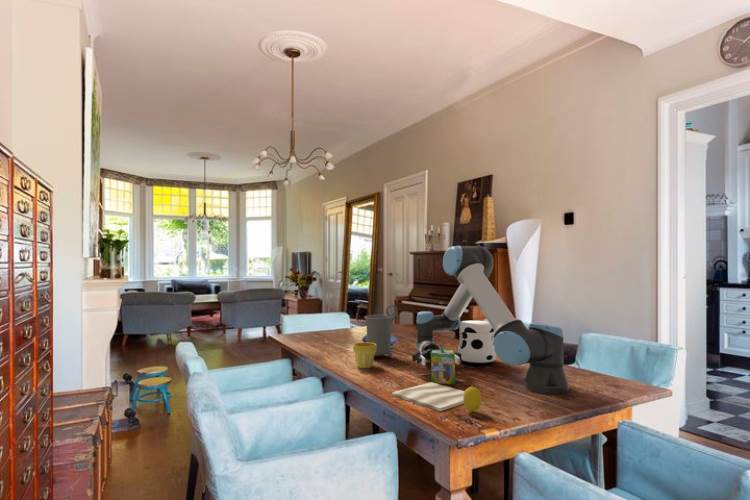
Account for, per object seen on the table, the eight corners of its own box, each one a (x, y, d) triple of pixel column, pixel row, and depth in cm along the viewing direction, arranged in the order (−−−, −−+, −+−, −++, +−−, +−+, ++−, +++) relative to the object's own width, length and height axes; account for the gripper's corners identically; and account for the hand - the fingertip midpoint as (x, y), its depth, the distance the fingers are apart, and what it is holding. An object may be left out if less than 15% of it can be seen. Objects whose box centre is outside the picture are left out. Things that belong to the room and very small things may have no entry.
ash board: (479, 398, 155) (479, 395, 155) (440, 411, 142) (440, 408, 142) (431, 384, 172) (431, 382, 172) (392, 395, 159) (392, 392, 159)
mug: (369, 361, 210) (368, 307, 210) (356, 355, 223) (356, 304, 224) (405, 358, 218) (404, 305, 218) (390, 352, 231) (390, 302, 232)
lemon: (473, 416, 137) (473, 389, 138) (459, 411, 142) (459, 385, 142) (485, 412, 141) (485, 386, 141) (471, 408, 145) (471, 382, 145)
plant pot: (377, 363, 206) (377, 342, 206) (375, 369, 196) (375, 346, 196) (354, 363, 207) (354, 341, 207) (351, 369, 197) (351, 346, 197)
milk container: (504, 362, 208) (503, 322, 208) (481, 369, 196) (481, 326, 196) (472, 356, 220) (472, 319, 221) (449, 362, 209) (449, 322, 209)
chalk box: (455, 385, 171) (455, 345, 171) (430, 384, 172) (430, 345, 173) (455, 378, 180) (454, 341, 180) (431, 378, 182) (431, 340, 182)
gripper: (457, 358, 200) (473, 370, 179) (401, 360, 197) (410, 372, 176) (457, 341, 200) (472, 351, 179) (401, 342, 197) (409, 352, 176)
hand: (441, 361), depth 177 cm, fingers open, 13 cm apart
